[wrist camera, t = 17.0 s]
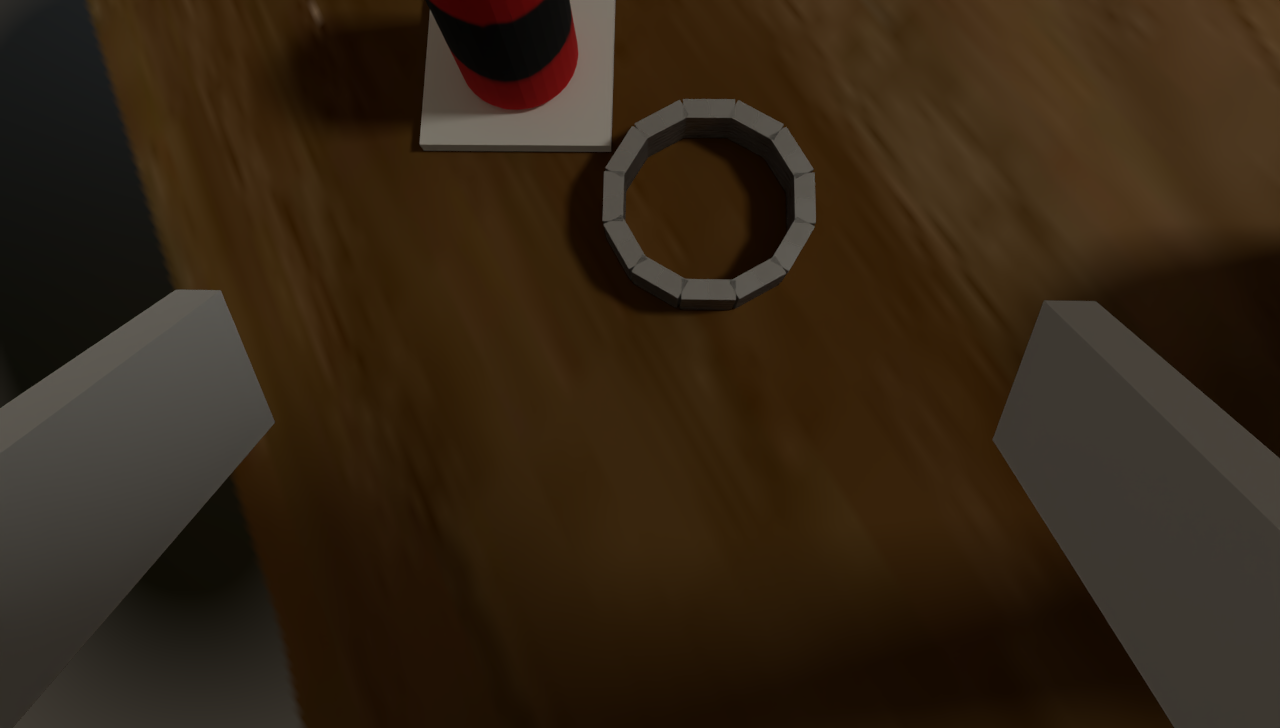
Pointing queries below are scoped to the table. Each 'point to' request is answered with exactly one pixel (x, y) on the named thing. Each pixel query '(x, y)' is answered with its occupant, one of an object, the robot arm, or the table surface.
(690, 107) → the steel ring holder
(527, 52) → the soda can
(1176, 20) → the table surface
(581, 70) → the cream coaster
